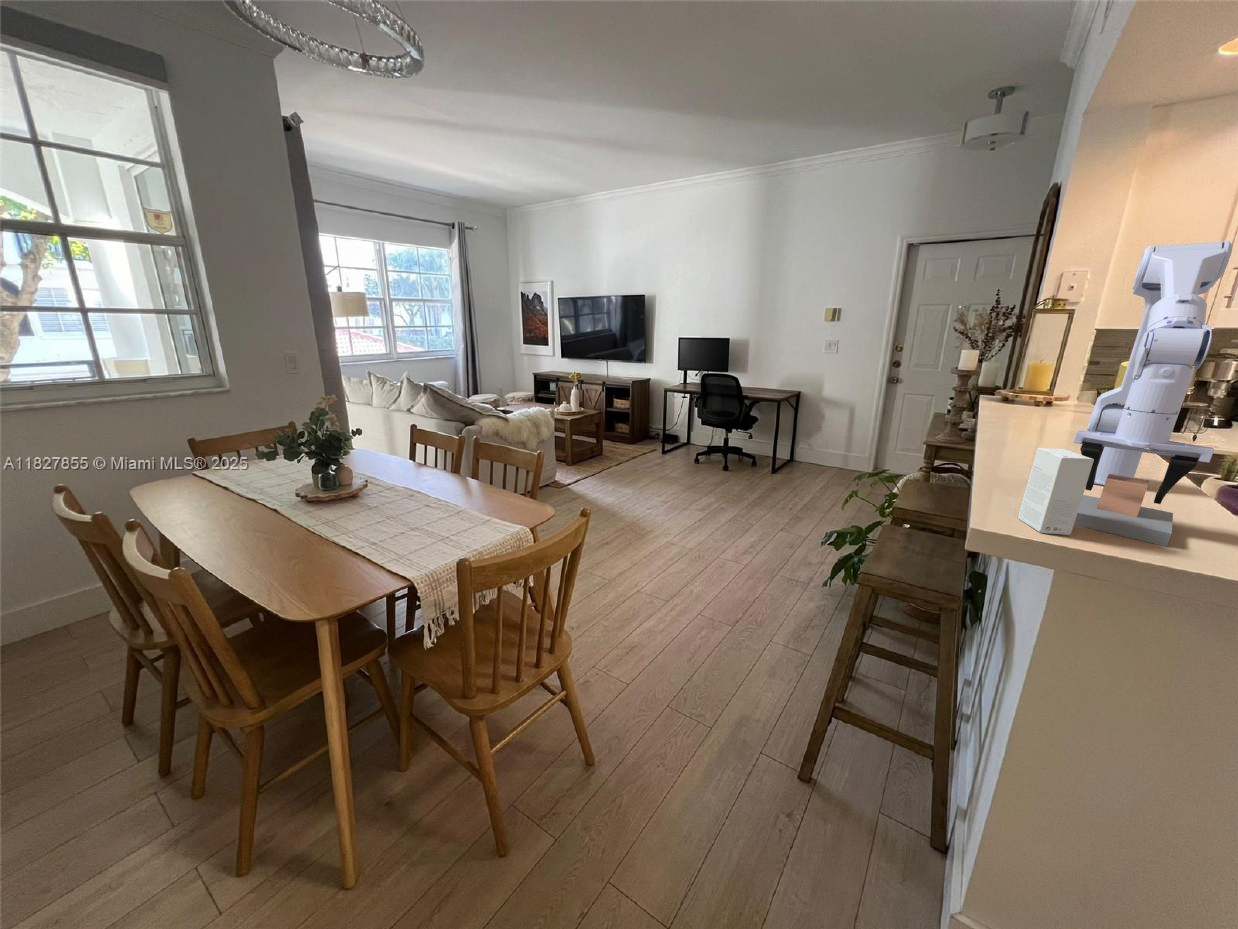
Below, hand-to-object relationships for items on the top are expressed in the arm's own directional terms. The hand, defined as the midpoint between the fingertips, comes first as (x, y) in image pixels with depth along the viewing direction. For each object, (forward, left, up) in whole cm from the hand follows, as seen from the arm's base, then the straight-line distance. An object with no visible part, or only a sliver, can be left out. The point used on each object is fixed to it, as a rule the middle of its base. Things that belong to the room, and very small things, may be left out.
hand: (1121, 495), depth 76 cm
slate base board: (+1, 0, -4) cm, 5 cm away
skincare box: (+12, -7, -5) cm, 15 cm away
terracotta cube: (0, 0, -2) cm, 2 cm away
